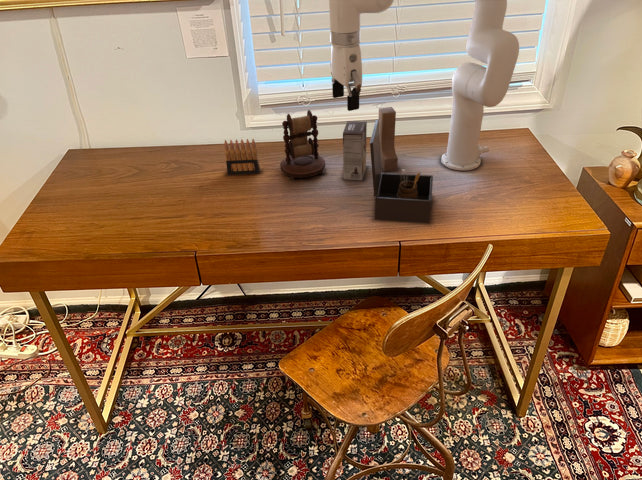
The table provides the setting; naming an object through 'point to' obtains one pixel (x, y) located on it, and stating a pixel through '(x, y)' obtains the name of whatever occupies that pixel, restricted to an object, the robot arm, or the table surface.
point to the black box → (399, 207)
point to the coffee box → (354, 150)
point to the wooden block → (387, 138)
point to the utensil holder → (408, 188)
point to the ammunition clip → (237, 160)
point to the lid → (375, 157)
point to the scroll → (301, 147)
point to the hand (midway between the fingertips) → (345, 103)
